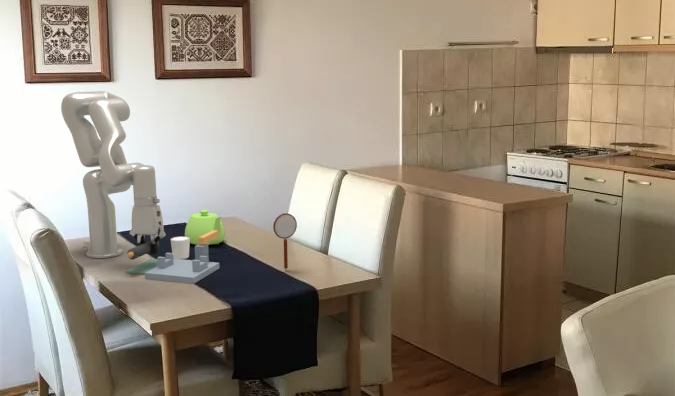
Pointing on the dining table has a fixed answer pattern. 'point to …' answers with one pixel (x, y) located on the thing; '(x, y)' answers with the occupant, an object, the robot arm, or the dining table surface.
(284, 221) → the magnifying glass
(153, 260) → the mat
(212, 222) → the teapot
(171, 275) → the grey cradle stand
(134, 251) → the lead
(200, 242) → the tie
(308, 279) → the dining table surface
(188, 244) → the white cup
